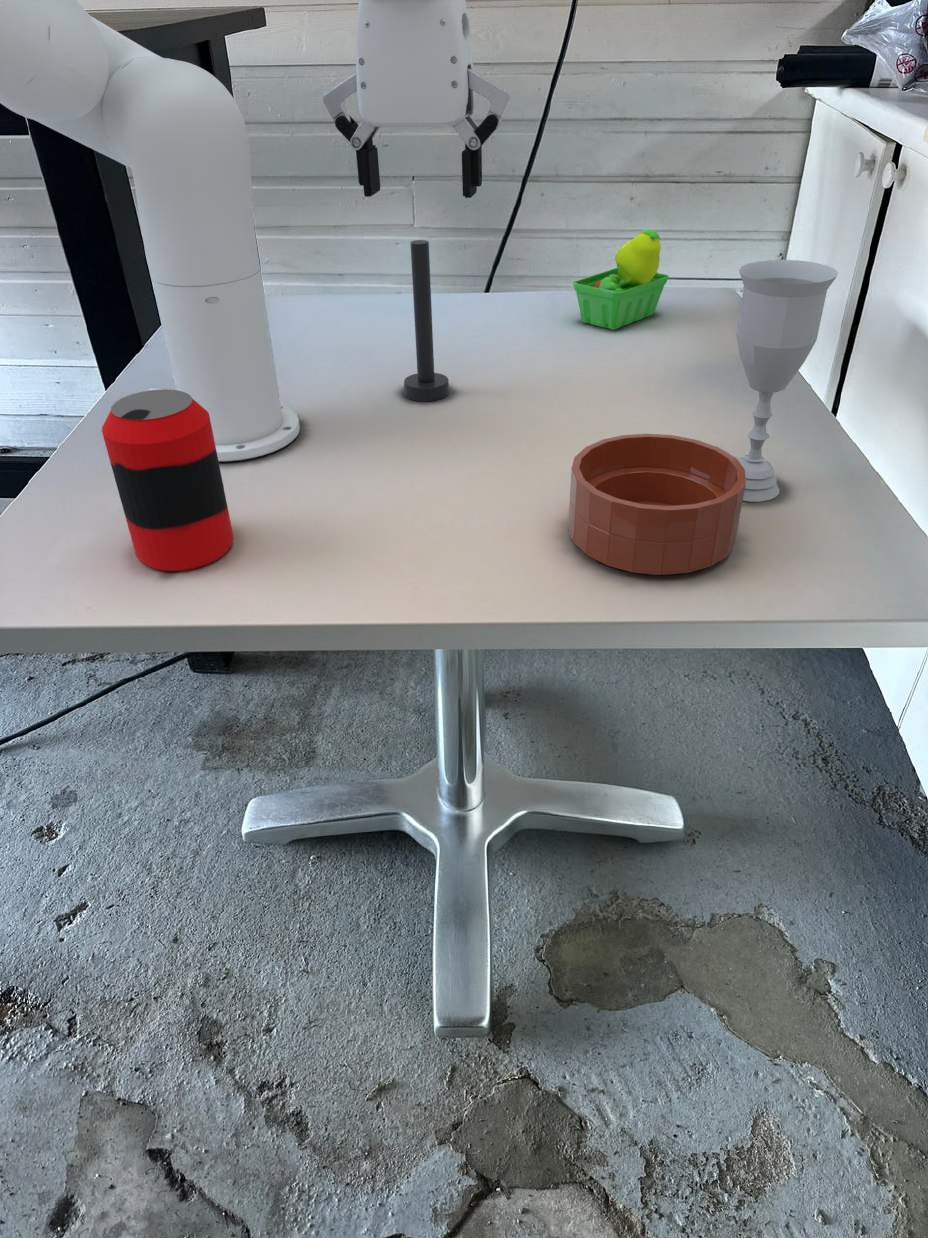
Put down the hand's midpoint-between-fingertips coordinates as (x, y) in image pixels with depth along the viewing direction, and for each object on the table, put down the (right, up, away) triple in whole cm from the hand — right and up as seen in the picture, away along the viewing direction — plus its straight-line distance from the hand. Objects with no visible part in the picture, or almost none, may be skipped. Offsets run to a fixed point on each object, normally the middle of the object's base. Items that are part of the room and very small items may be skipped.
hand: (420, 194), depth 85 cm
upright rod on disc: (0, -16, +11) cm, 20 cm away
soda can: (-18, -35, -14) cm, 42 cm away
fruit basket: (+25, -2, +31) cm, 40 cm away
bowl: (+19, -34, -15) cm, 42 cm away
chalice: (+29, -29, -8) cm, 42 cm away
